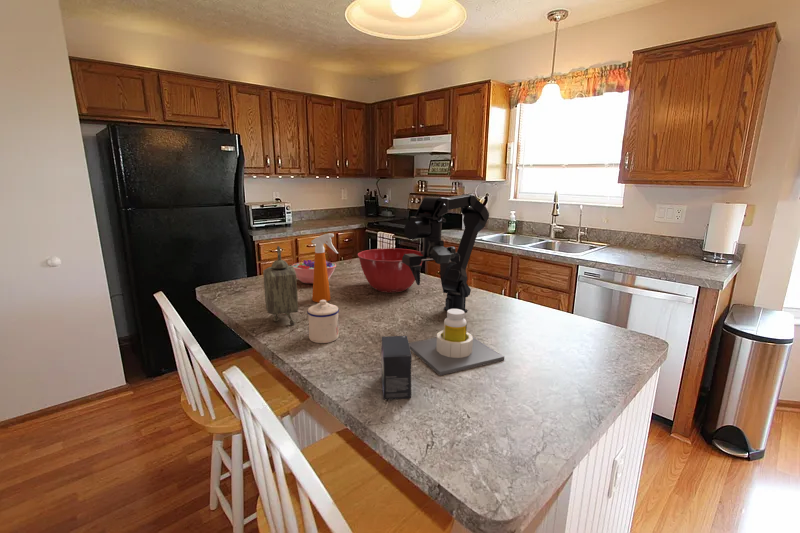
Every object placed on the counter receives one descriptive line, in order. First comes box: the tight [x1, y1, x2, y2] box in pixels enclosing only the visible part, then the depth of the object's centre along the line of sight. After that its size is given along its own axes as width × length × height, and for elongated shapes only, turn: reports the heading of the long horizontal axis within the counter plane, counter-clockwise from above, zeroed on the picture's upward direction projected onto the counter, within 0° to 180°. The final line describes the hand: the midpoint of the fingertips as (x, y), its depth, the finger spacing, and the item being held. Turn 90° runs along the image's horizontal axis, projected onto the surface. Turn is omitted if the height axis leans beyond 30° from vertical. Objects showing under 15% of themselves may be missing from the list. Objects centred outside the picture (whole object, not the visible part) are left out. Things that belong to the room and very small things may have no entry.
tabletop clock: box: [262, 245, 299, 326], centre depth 124 cm, size 14×9×25 cm, turn 23°
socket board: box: [409, 329, 505, 377], centre depth 105 cm, size 20×18×5 cm
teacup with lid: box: [307, 300, 340, 344], centre depth 114 cm, size 12×9×12 cm
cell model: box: [291, 259, 337, 285], centre depth 172 cm, size 17×20×11 cm
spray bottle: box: [310, 232, 339, 304], centre depth 145 cm, size 7×11×26 cm, turn 80°
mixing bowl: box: [357, 248, 423, 294], centre depth 164 cm, size 28×28×16 cm
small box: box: [380, 335, 413, 401], centre depth 87 cm, size 11×6×10 cm, turn 5°
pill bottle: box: [442, 309, 468, 342], centre depth 104 cm, size 6×6×11 cm
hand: (430, 283), depth 126 cm, fingers open, 9 cm apart
